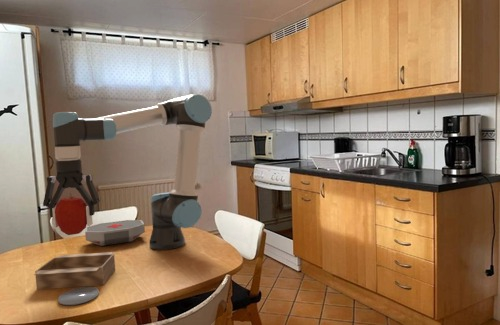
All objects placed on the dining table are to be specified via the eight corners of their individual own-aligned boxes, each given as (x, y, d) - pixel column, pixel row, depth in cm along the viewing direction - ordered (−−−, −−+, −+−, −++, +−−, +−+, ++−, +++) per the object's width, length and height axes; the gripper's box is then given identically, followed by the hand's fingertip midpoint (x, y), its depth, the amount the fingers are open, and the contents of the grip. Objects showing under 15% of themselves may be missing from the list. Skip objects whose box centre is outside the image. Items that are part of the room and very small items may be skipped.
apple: (59, 240, 114) (55, 196, 113) (54, 234, 122) (50, 193, 121) (94, 234, 120) (91, 192, 119) (87, 228, 128) (84, 189, 127)
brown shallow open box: (117, 267, 134) (116, 251, 133) (100, 288, 116) (99, 270, 115) (58, 271, 132) (57, 255, 132) (32, 292, 114) (31, 274, 114)
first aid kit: (86, 251, 155) (146, 242, 165) (85, 234, 154) (145, 226, 164) (86, 240, 171) (141, 233, 181) (85, 225, 170) (140, 218, 180)
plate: (103, 288, 115) (103, 285, 115) (91, 304, 104) (90, 301, 104) (67, 291, 115) (67, 288, 114) (51, 307, 104) (51, 304, 103)
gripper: (107, 157, 124) (111, 221, 125) (39, 160, 122) (44, 224, 124) (99, 159, 116) (104, 227, 118) (26, 161, 115) (32, 230, 117)
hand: (73, 225), depth 121 cm, fingers closed on apple, 10 cm apart
